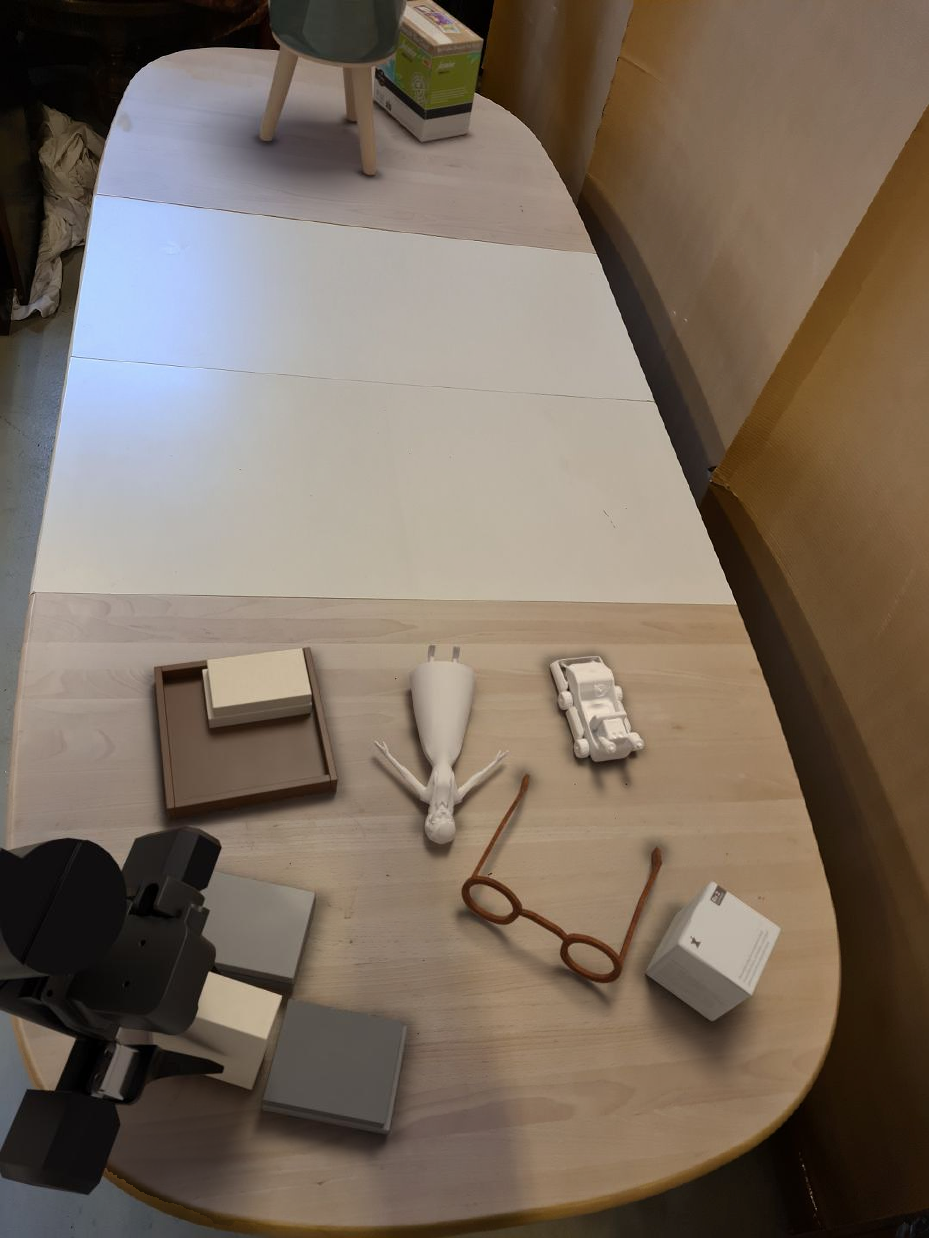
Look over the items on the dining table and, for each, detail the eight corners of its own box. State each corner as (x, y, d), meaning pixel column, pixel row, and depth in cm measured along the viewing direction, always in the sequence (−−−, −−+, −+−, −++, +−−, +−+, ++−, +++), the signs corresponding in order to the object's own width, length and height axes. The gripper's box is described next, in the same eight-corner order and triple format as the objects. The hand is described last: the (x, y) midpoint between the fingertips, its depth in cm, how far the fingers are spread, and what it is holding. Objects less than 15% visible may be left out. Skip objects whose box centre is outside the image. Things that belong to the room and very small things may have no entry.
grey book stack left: (175, 968, 63) (171, 955, 60) (205, 880, 67) (202, 865, 64) (292, 992, 63) (293, 981, 61) (315, 904, 67) (317, 890, 65)
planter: (362, 106, 147) (380, -148, 121) (423, 172, 137) (458, -89, 111) (236, 115, 138) (227, -157, 112) (293, 187, 128) (297, -94, 102)
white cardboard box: (711, 1023, 67) (753, 998, 61) (642, 973, 68) (677, 943, 62) (742, 958, 70) (784, 928, 64) (675, 911, 71) (711, 878, 66)
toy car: (602, 658, 86) (616, 632, 82) (644, 768, 79) (660, 745, 76) (543, 664, 84) (555, 637, 81) (581, 777, 77) (595, 753, 74)
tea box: (370, 101, 148) (378, 0, 137) (418, 94, 153) (430, -4, 141) (420, 144, 142) (434, 42, 131) (469, 135, 147) (486, 37, 135)
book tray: (169, 820, 69) (166, 809, 67) (156, 679, 76) (153, 666, 74) (336, 790, 73) (338, 779, 71) (309, 659, 80) (310, 646, 78)
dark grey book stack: (261, 1109, 58) (260, 1102, 56) (288, 1006, 62) (288, 995, 60) (387, 1134, 59) (391, 1128, 56) (405, 1030, 63) (410, 1020, 60)
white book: (150, 1057, 58) (145, 1000, 49) (167, 1018, 60) (166, 956, 50) (251, 1090, 59) (266, 1040, 49) (265, 1050, 60) (282, 994, 51)
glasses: (454, 903, 69) (465, 880, 65) (524, 775, 77) (537, 748, 73) (605, 992, 67) (626, 974, 63) (661, 851, 74) (683, 827, 70)
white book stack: (209, 728, 73) (207, 710, 71) (203, 678, 76) (200, 659, 74) (311, 713, 76) (312, 695, 74) (301, 665, 79) (302, 646, 76)
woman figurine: (511, 642, 79) (518, 838, 69) (501, 667, 83) (506, 856, 73) (381, 631, 77) (370, 829, 68) (377, 656, 81) (365, 848, 71)
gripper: (-5, 1164, 35) (272, 1236, 44) (171, 758, 47) (362, 880, 55) (-125, 1146, 41) (139, 1212, 50) (56, 791, 53) (245, 896, 62)
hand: (229, 1038), depth 54 cm, fingers closed on white book, 3 cm apart
